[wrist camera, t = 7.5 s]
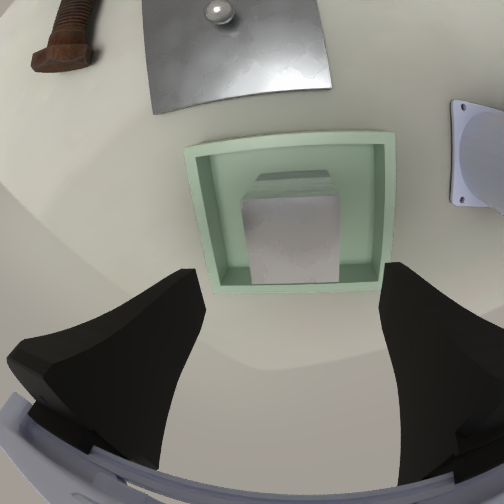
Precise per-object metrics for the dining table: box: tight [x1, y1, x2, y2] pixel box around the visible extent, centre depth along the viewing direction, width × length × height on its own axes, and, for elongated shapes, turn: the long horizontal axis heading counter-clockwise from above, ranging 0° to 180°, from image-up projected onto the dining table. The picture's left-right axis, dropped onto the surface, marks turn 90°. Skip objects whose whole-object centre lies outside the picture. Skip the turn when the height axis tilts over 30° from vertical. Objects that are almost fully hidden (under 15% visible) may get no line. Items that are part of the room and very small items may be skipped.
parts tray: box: [183, 130, 396, 294], centre depth 18 cm, size 12×10×3 cm
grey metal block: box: [240, 170, 340, 284], centre depth 15 cm, size 4×4×6 cm
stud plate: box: [142, 0, 332, 115], centre depth 12 cm, size 12×12×3 cm
